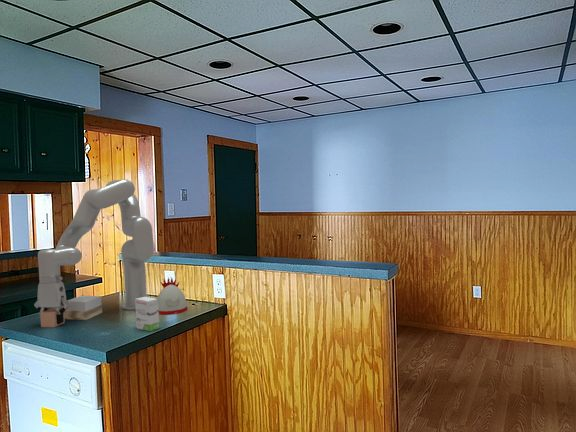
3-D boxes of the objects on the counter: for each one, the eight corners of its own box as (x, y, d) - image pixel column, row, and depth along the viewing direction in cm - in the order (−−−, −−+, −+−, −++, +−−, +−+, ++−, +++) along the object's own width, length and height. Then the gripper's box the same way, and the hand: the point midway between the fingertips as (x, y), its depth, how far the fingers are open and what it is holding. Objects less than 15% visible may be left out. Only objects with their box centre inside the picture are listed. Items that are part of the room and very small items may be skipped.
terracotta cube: (64, 322, 174) (63, 308, 174) (54, 327, 168) (53, 312, 168) (51, 322, 175) (51, 308, 175) (41, 327, 169) (40, 312, 169)
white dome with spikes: (154, 308, 193) (152, 276, 192) (184, 305, 198) (183, 273, 197) (157, 316, 180) (155, 282, 179) (189, 312, 185) (188, 278, 185)
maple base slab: (102, 313, 189) (101, 304, 189) (86, 320, 178) (86, 311, 178) (80, 312, 191) (79, 304, 191) (63, 320, 180) (62, 310, 180)
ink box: (160, 328, 164) (158, 298, 163) (149, 331, 160) (147, 301, 159) (146, 324, 169) (145, 295, 168) (135, 328, 165) (134, 298, 164)
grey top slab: (101, 305, 188) (101, 296, 187) (85, 311, 178) (85, 302, 178) (82, 304, 190) (82, 295, 190) (65, 310, 180) (65, 301, 180)
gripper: (75, 277, 173) (78, 320, 174) (38, 277, 176) (41, 319, 177) (62, 281, 165) (65, 326, 166) (24, 281, 168) (27, 325, 169)
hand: (52, 322), depth 171 cm, fingers closed on terracotta cube, 6 cm apart
